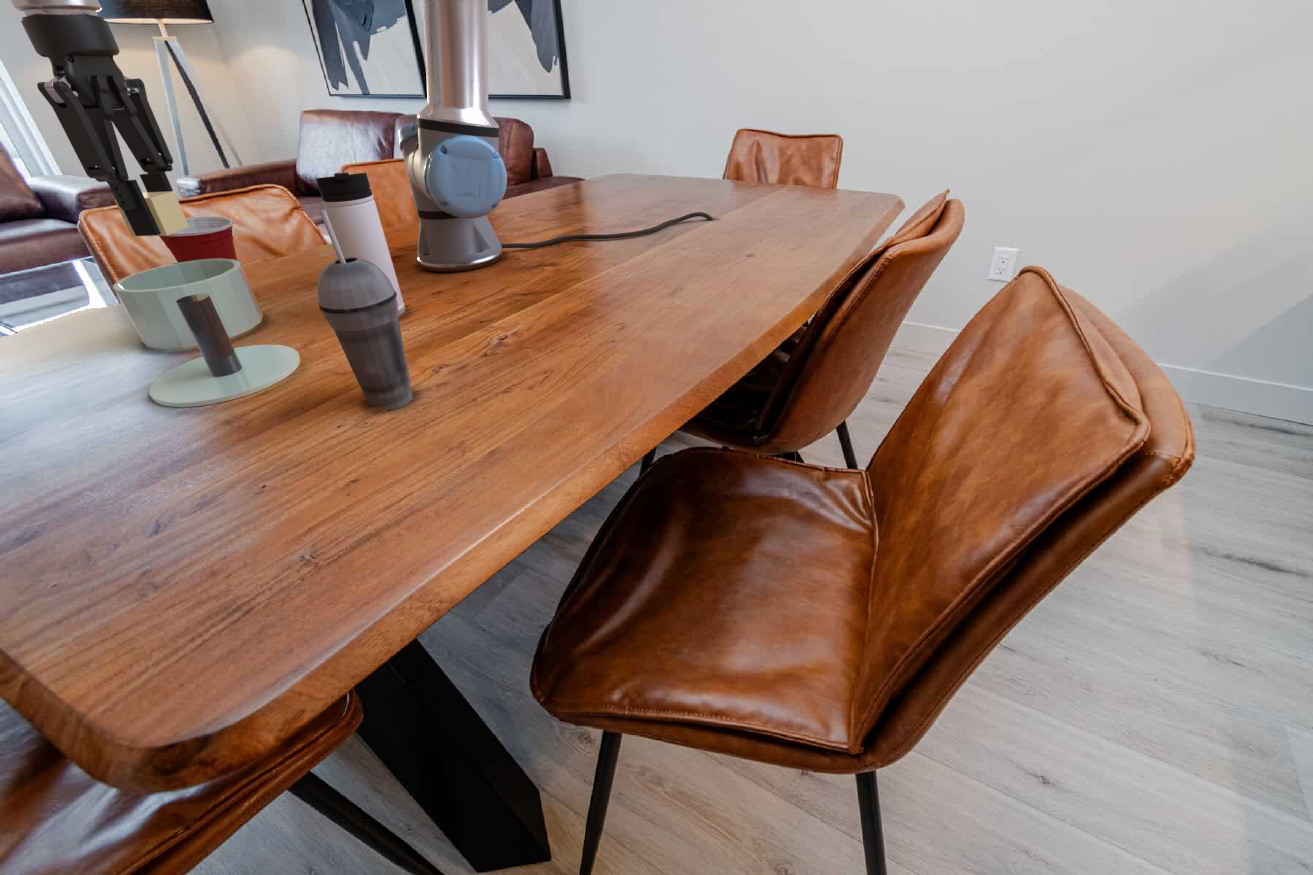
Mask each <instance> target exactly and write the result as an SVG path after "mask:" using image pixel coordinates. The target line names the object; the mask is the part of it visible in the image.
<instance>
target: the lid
mask: <svg viewBox="0 0 1313 875" xmlns="http://www.w3.org/2000/svg"><path fill="white" fill-rule="evenodd" d="M176 304H177V306H178V308H179V310H180V312H181V314H182V316H183V318H184V320H185V322H186V324H187V326H188V328H189V330H190V332H191V334H192V336H193V338H194V340H195V342H196V344H197V346H196V347H197V348H198V350H199V353H200V355H201V356H200V357H197V358H194V359H191V360H189V361H186V362H184V363H181V364H179V365H177V366H175V367H173V368H171V369H169V370H167V371H166V372H164V373H163V374H161V375H160V376H159V377H157V378H156V379H154V381H153V382H152V383H151V385H150V386H149V389H148V393H149V396H150V398H151V400H153V401H154V402H155V404H158V405H160V406H165V407H171V408H193V407H202V406H209V405H215V404H219V403H224V402H225V403H226V402H229V401H233V400H236V399H240V398H244V397H246V396H249V395H252V394H255V393H257V392H260V391H263V390H265V389H267V388H269V387H272V386H274V385H276V384H278V383H279V382H281V381H283V380H285V379H286V378H287V377H289V376H290V375H291V374H293V373H294V372H295V371H296V370H297V369H298V367H299V366H300V364H301V362H302V361H301V356H300V354H299V351H297V349H295V348H293V347H290V346H288V345H282V344H254V345H252V344H251V345H244V346H240V347H234V345H233V343H232V341H231V339H230V338H229V337H228V335H227V332H226V330H225V328H224V326H223V324H222V322H221V319H220V317H219V315H218V313H217V311H216V309H215V306H214V304H213V302H212V300H211V298H210V296H209V295H208V294H195V295H190V296H186V297H183V298H180V299H178V300H177V301H176Z"/></svg>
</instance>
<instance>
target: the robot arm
mask: <svg viewBox="0 0 1313 875" xmlns="http://www.w3.org/2000/svg"><path fill="white" fill-rule="evenodd" d="M10 1H11V3H12V6H13V7H14V9H16V10H17V11H19V12H24V15H25V16H22V17H21V20H20V22H21V24H22V26H23V29H24V30H25V32H26V35H27V37H28V39H29V41H30V43H31V45H32V47H33V49H34V51H35V53H36V54H37V55H39V56H41V57H43V58H48V59H49V62H50V65H51V70H52V75H53V78H51V80H49V81H39V82H37V83H36V86H37V89H38V91H39V93H40V94H41V95H42V96H43V97H44V99H45V100H46V101H47V102H48V104H49V105H50V106H51V107H52V110H53V111H54V114H55V116H56V117H57V120H58V121H59V123H60V125H61V127H62V130H63V131H64V133H65V135H66V137H67V139H68V142H69V143H70V145H71V146H72V148H73V151H74V152H75V155H76V156H77V159H78V160H79V162H80V164H81V166H82V168H83V170H84V172H85V174H86V175H87V177H89V178H90V179H95V181H97V182H98V183H107V185H108V186H109V188H110V190H111V192H112V195H113V196H114V199H116V200H117V203H118V205H119V206H120V207H121V209H122V210H123V211H124V213H125V215H126V217H127V219H128V221H129V223H130V225H131V227H132V229H133V231H134V233H135V235H136V236H137V237H148V236H147V235H159V234H161V232H160V230H159V228H158V226H157V224H156V222H155V220H154V218H153V215H152V213H151V211H150V209H149V207H148V205H147V203H146V201H145V198H144V196H143V194H142V189H141V188H140V185H139V183H138V181H137V179H130V178H129V173H128V170H127V167H126V164H125V160H124V157H123V154H122V151H121V147H120V144H119V141H118V136H117V135H116V131H115V129H116V130H117V132H118V134H119V135H120V137H121V138H122V140H123V142H124V143H125V145H126V146H127V148H128V149H129V151H130V152H131V154H132V155H133V157H134V159H135V160H136V162H137V163H138V165H139V167H140V168H141V170H142V171H143V172H144V173H140V174H139V178H140V179H141V181H142V184H143V186H144V188H145V191H146V192H168V191H174V189H173V188H172V185H171V183H170V180H169V179H168V175H167V174H166V172H172V171H173V170H174V168H173V164H174V159H173V156H172V154H171V152H170V149H169V146H168V145H167V142H166V140H165V138H164V135H163V133H162V131H161V128H160V126H159V124H158V121H157V119H156V116H155V114H154V112H153V110H152V107H151V105H150V102H149V100H148V95H147V90H146V86H145V82H144V81H143V80H142V79H141V78H130V77H128V76H125V75H124V73H123V71H122V70H121V69H120V68H119V66H118V64H117V63H116V61H115V60H114V57H115V56H119V54H120V47H119V46H118V43H117V42H116V39H115V36H114V34H113V32H112V30H111V27H110V25H109V22H108V21H107V20H105V19H104V17H102V16H99V14H98V13H99V12H101V10H102V9H103V8H102V5H101V3H100V0H10ZM488 3H489V1H488V0H422V10H423V30H424V31H423V33H424V50H425V53H424V54H425V74H426V94H427V103H426V104H425V106H424V108H423V109H421V111H419V113H418V114H417V116H416V117H417V122H415V123H408V124H405V125H402V126H400V128H399V129H398V131H397V134H398V135H397V136H398V141H399V145H398V146H399V151H401V153H402V157H403V162H404V164H405V170H406V173H407V177H408V182H409V185H410V189H411V193H412V197H413V202H414V205H415V209H416V213H417V217H418V223H419V224H418V240H417V242H418V243H417V260H418V264H419V267H420V268H421V269H423V270H425V271H429V272H437V273H452V272H463V271H470V270H471V271H472V270H475V269H479V268H483V267H487V266H490V265H492V264H495V263H497V262H499V261H500V260H501V259H503V257H504V249H535V248H542V247H545V246H550V245H553V244H557V243H561V242H564V241H573V240H613V239H622V238H623V239H624V238H631V237H637V236H642V235H647V234H651V233H655V232H658V231H660V230H662V229H663V228H665V227H667V226H670V225H674V224H678V223H680V222H683V221H686V220H689V219H692V218H697V217H700V218H701V217H702V218H705V219H707V221H714V218H713V217H712V216H711V215H710V214H708V213H706V212H702V211H696V212H691V213H688V214H685V215H683V216H680V217H677V218H673V219H670V220H666V221H664V222H662V223H660V224H657V225H655V226H653V227H650V228H645V229H641V230H636V231H628V232H620V233H609V234H570V235H563V236H559V237H554V238H550V239H548V240H544V241H539V242H529V243H528V242H526V243H522V242H516V243H515V242H514V243H510V242H509V243H501V241H500V239H499V237H498V236H497V233H496V231H495V229H494V227H493V226H492V223H491V222H490V220H489V217H488V216H487V215H488V214H490V213H491V212H493V211H494V210H495V209H496V208H497V207H498V206H499V205H500V203H501V202H502V201H503V199H504V196H505V193H506V191H507V184H508V176H507V170H506V166H505V163H504V160H503V158H502V157H501V155H500V148H499V146H500V141H499V140H500V138H499V137H500V132H499V131H500V129H499V128H500V127H499V124H498V122H496V120H495V119H494V118H493V117H492V115H491V114H490V111H489V7H488V6H489V4H488Z"/></svg>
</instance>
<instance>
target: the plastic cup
mask: <svg viewBox="0 0 1313 875" xmlns="http://www.w3.org/2000/svg"><path fill="white" fill-rule="evenodd" d="M185 218H186V220H187V223H188V225H189V227H188V228H186V229H183V230H180V231H178V232H175V233H173V234H170V235H166V236H158V237H159V238H160V240H161V241H162V242H163V243H164V245H165V246H166V248H167V249H168V250H169V252H170V253H171V254H172V256H173V257H174V259H175V260H176V263H179V262H186V261H193V260H201V259H217V258H222V259H235V260H237V261H238V258H237V253H236V248H235V244H234V236H233V225H234V224H235V223H234V222H235V221H234V219H232V218H230V217H226V216H212V215H206V216H205V215H203V216H202V215H201V216H189V217H185Z"/></svg>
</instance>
